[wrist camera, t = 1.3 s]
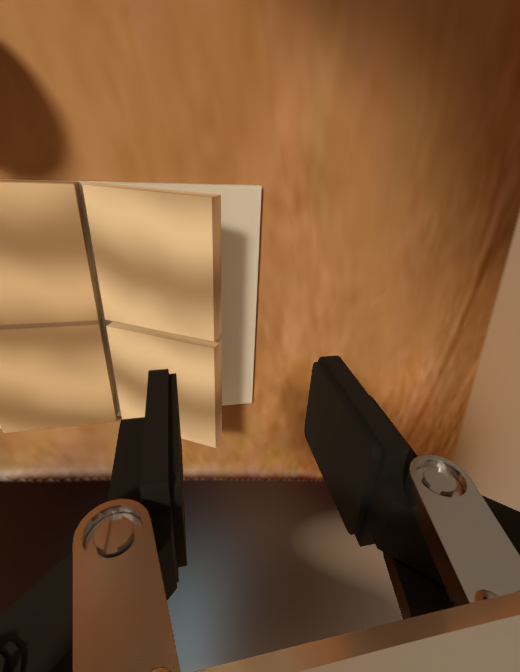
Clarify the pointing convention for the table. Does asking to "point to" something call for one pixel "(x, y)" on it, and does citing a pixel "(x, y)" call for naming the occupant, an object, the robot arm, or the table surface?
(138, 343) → the plank far
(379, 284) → the table surface
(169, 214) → the plank near
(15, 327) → the row
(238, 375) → the underlay mat
